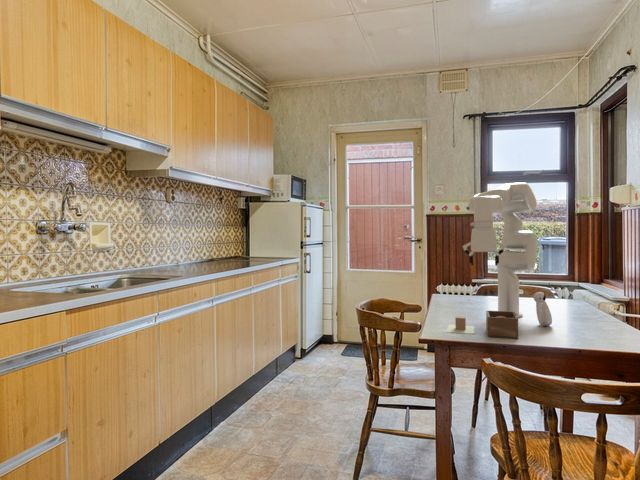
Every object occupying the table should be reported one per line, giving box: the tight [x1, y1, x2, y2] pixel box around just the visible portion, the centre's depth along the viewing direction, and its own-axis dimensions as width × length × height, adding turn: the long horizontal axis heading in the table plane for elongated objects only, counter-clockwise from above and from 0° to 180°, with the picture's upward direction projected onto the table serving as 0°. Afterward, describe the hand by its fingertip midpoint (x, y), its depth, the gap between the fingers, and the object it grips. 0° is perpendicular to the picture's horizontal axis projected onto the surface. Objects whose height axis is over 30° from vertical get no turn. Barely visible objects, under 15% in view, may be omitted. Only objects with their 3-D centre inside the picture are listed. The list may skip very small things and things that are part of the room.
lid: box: [445, 315, 475, 335], centre depth 184 cm, size 14×11×6 cm
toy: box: [533, 291, 553, 327], centre depth 188 cm, size 11×7×15 cm, turn 168°
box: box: [485, 310, 519, 340], centre depth 175 cm, size 14×11×8 cm
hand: (484, 265), depth 184 cm, fingers open, 9 cm apart
